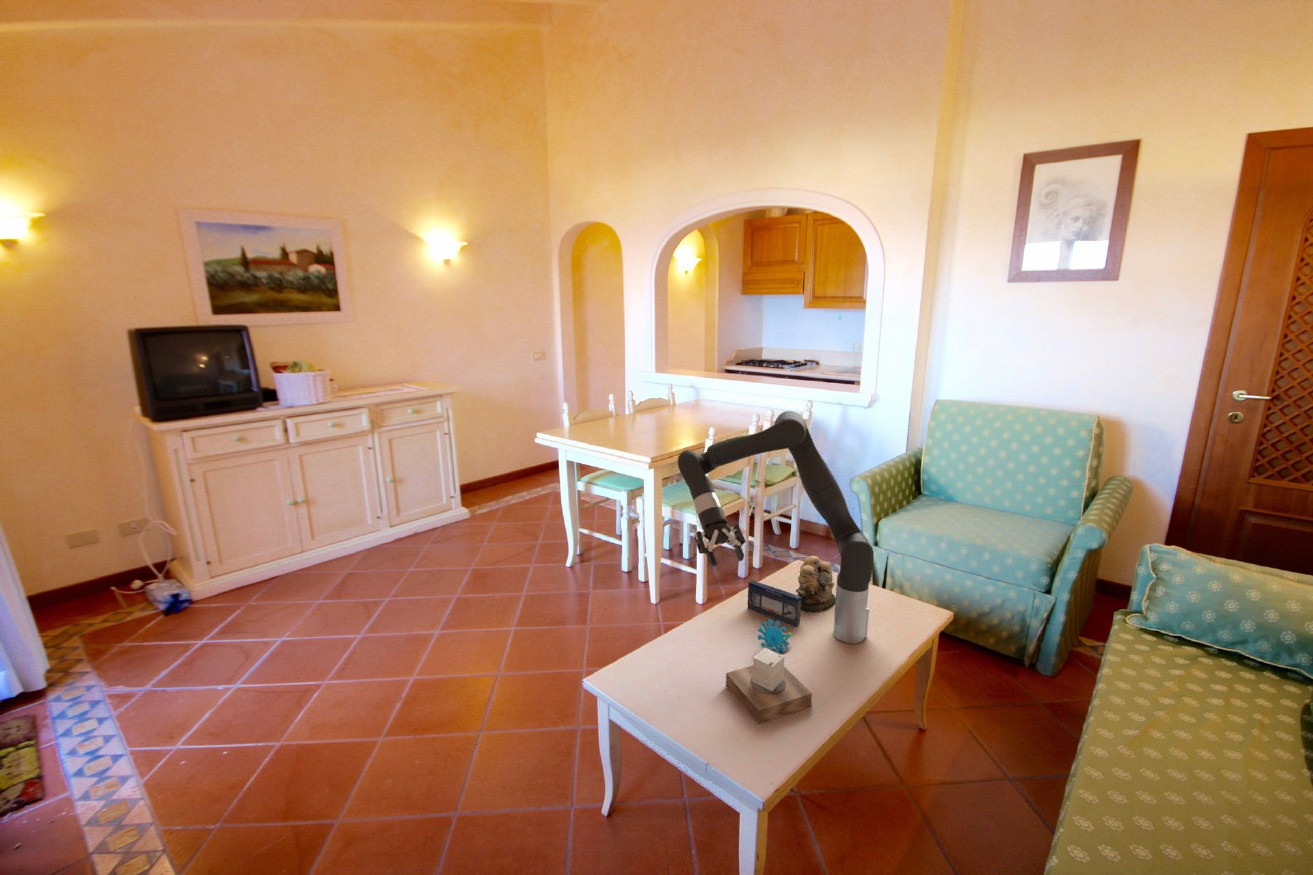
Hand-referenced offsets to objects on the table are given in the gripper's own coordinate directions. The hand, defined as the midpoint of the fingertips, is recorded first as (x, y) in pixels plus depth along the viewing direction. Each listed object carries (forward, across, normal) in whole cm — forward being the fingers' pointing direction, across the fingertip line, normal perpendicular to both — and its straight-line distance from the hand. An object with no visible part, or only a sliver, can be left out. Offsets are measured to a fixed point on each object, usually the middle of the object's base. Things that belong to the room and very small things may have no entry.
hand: (728, 562), depth 165 cm
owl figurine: (+11, +43, +32) cm, 55 cm away
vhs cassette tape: (+12, +25, +30) cm, 41 cm away
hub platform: (+35, +1, +7) cm, 36 cm away
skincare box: (+32, +1, +4) cm, 32 cm away
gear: (+23, +15, +20) cm, 34 cm away
